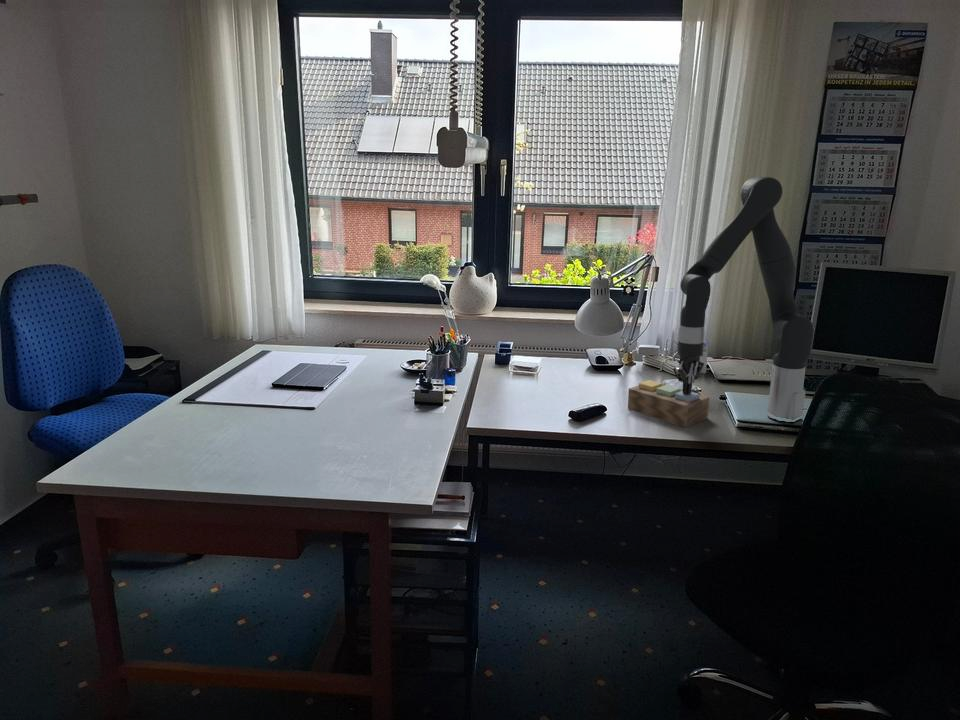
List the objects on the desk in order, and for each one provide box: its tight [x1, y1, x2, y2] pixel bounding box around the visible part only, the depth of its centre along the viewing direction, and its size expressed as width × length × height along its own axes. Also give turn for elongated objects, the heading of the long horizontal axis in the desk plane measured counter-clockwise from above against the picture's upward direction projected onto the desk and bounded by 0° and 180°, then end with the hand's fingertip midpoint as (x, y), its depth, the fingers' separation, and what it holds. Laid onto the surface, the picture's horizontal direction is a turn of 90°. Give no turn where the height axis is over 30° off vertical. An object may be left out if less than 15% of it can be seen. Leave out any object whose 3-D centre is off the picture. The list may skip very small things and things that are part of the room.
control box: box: [627, 383, 710, 428], centre depth 212 cm, size 22×12×7 cm, turn 38°
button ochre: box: [638, 379, 663, 391], centre depth 217 cm, size 5×5×7 cm
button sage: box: [656, 384, 681, 396], centre depth 212 cm, size 5×5×7 cm
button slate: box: [675, 391, 700, 402], centre depth 206 cm, size 5×5×7 cm
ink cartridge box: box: [700, 339, 709, 374], centre depth 255 cm, size 10×6×14 cm, turn 78°
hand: (686, 393), depth 205 cm, fingers closed
